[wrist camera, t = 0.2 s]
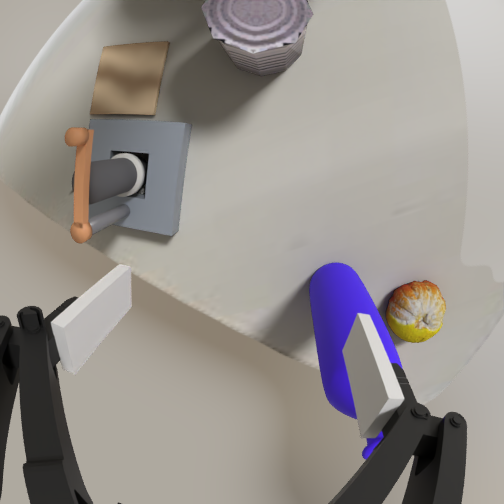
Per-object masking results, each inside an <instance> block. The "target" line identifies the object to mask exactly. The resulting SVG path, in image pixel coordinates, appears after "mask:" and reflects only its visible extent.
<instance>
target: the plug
mask: <svg viewBox="0 0 504 504" xmlns="http://www.w3.org/2000/svg"><path fill="white" fill-rule="evenodd" d="M147 169H148V162H147V161H146V160H145V159H144V158H142V157H139V156H135V155H133V154H130V153H122V154H117V155H115V156H114V157H112V158H111V159H107V160H99V161H92V162H91V166H90V182H89V205H90V204H94V203H97V202H99V201H102V200H105V199H108V198H111V197H113V196H119V197H126V196H129V195H132V194H134V193H136V192H137V191H138V190H139V189H140V188H141V187H143V186H144V185H145V184H146V179H147ZM74 180H75V172H74V174H73V178H72V188H73V192H74Z"/></svg>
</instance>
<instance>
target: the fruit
mask: <svg viewBox="0 0 504 504" xmlns="http://www.w3.org/2000/svg"><path fill="white" fill-rule="evenodd" d="M445 310H446V304H445V300H444V299H443V297H442V296H441V293H440V290H439V288H438V287H437V285H435V284H433V283H431V282H429V281H427V280H424V281H422V282H417V281H413V282H411V283H409V284H404V285H402V286H401V287H399V288H397V289H396V290H394V294H393V295H392V297H391V298H390V299H389V305H388V307H387V310H386V319H387V322H388V324H389V326H390V328H391V329H392V331H393V332H394V333H395V334H396V335H397V336H398V337H400V338H401V339H403V340H405V341H407V342H411V343H415V342H417V343H419V342H424V341H426V340H428V339H429V338H431V337H433V336H434V335H435V334H436V333H437V332H438V331H439V330H440V328H441V327H442V324H443V323H442V320H443V316H444V313H445Z"/></svg>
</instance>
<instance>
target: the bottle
mask: <svg viewBox="0 0 504 504" xmlns="http://www.w3.org/2000/svg"><path fill="white" fill-rule="evenodd" d="M309 293H310V303H311V311H312V318H313V326H314V332H315V339H316V346H317V353H318V359H319V366H320V372H321V377H322V383H323V387H324V391H325V394H326V397H327V399H328V401H329V403H330V404H331V405H332V406H334V407H335V408H336V409H337V410H338V411H340V412H342V413H343V414H345V415H347V416H350V417H352V418H354V419H357V415H356V410H355V405H354V400H353V396H352V391H351V387H350V382H349V378H348V373H347V369H346V364H345V360H344V356H343V352H342V350H343V348H344V345H345V343H346V341H347V338H348V336H349V333H350V331H351V328H352V326H353V323H354V321H355V318H356V316H357V313H362V314H368V315H370V317H371V319H372V321H373V323H374V326H375V328H376V330H377V332H378V335H379V337H380V339H381V342H382V344H383V346H384V349H385V351H386V353H387V356H388V358H389V361H390V363H397V364H398V365H399V366H400V367H401V368H402V365H401V362H400V358H399V356H398V353H397V351H396V348H395V346H394V343H393V341H392V339H391V337H390V335H389V332H388V330H387V328H386V326H385V324H384V322H383V320H382V318H381V316H380V314H379V312H378V310H377V308H376V306H375V304H374V302H373V301H372V299H371V297H370V295H369V293H368V291H367V289H366V288H365V286H364V284H363V283H362V281H361V279H360V278H359V276H358V275H357V273H356V272H355V271H354V270H353V269H352V268H351V267H349V266H348V265H346V264H343V263H330V264H326V265H324V266H322V267H321V268H319V269H318V270H317V271H316V272H315V274H314V275H313V277H312V279H311V282H310V288H309ZM382 438H383V433H382V431H381V432H380V433H379V435H378V436H377V437H376V438H366V439H367V446H366V447H365V448H364V450H363V452H362V456H363V458H364V459H367V458H368V457H369V456H370V454H371V453H372V452H373V449H374V448H375V447H376V446H377V444H378V443H379V442H380V441H381V440H382Z"/></svg>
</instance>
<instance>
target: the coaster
mask: <svg viewBox="0 0 504 504" xmlns="http://www.w3.org/2000/svg"><path fill="white" fill-rule="evenodd" d="M169 44H170V42H168V41H167V42H146V43H133V44H123V45H114V46H106V47H103V51H102V55H101V59H100V63H99V68H98V72H97V77H96V82H95V87H94V93H93V99H92V105H91V111H90V114H136V115H155V113H156V107H157V101H158V96H159V90H160V85H161V80H162V75H163V70H164V66H165V61H166V56H167V52H168V48H169Z"/></svg>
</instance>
